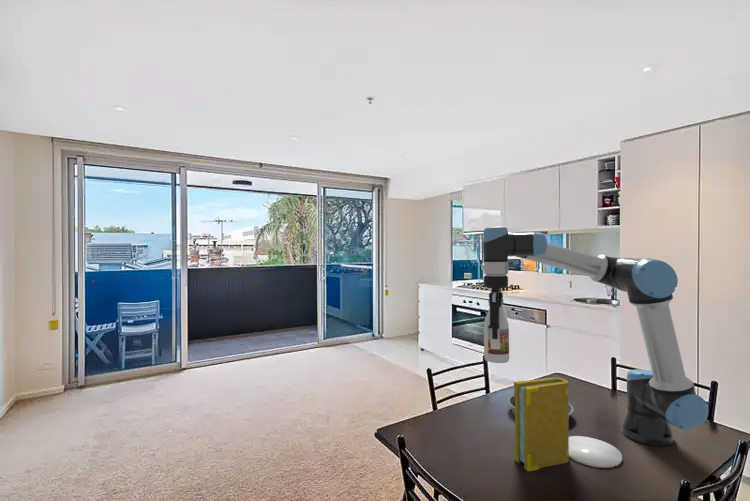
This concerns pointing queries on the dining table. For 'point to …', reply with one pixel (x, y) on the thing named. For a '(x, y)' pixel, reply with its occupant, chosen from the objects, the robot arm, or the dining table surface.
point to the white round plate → (593, 452)
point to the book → (541, 422)
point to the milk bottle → (503, 353)
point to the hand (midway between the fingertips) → (496, 345)
